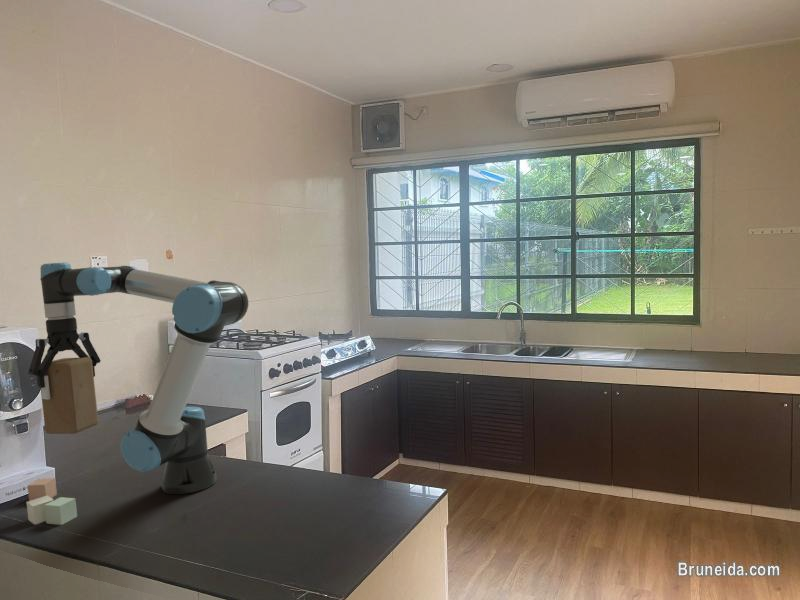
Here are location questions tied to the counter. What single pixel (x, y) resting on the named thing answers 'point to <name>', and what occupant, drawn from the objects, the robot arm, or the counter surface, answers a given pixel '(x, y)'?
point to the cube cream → (37, 509)
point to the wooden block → (70, 396)
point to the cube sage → (60, 510)
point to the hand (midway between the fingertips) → (68, 393)
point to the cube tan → (42, 488)
